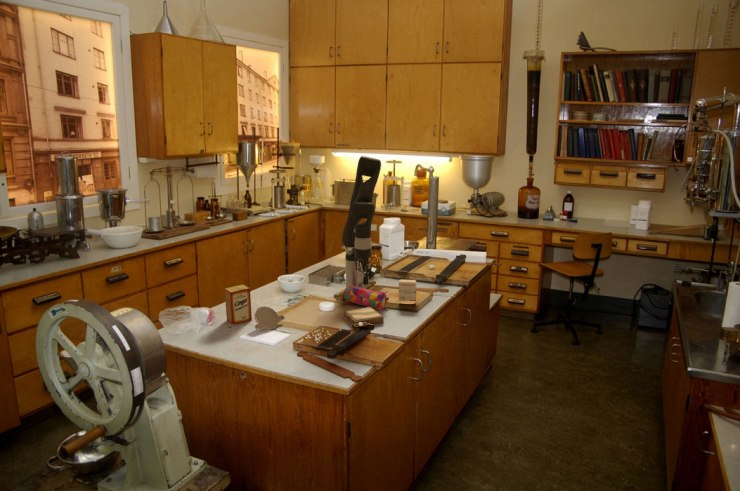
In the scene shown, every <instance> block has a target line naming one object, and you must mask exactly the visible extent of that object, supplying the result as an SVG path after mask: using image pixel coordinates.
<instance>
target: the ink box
mask: <svg viewBox="0 0 740 491" xmlns="http://www.w3.org/2000/svg"><path fill="white" fill-rule="evenodd" d="M399 301H416V302H417V280H416V279H399V280H398V302H399Z"/></svg>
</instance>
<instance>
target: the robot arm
mask: <svg viewBox="0 0 740 491" xmlns="http://www.w3.org/2000/svg"><path fill="white" fill-rule="evenodd" d="M381 169H382V161H381V160H380V159H379V158H376V157H375V158H374V157H372V156H365V155H361V156H360V157H359V159H358V162H357V166H356V173H355V180H354V186H353V191H352V195H351V198H350V203H349V208H348V213H347V218H346V220H345V221H346V222H345V225H344V228H343V229H342V230H343V231H342V235H341V243H342V245H343V247H345V248H352V249H350V251H348V252H346V253H345V256H344V258H345V259H344V260H345V290H346V289H347V288H348V287H349V286H352V285H354V286H357V287H358V270H360V269H361V271H362V272H363V284H364V285H368V277H371V276H372V270H373V269H372V267H373V263H372V264H370V261H369V260H370V258H371V257H372V222H373V219H374V217H375V216H374V215H375V213H376V212H375V211H376V208H375V207H376V206H375V205H374V204H373V200H374V192H375V188H376V185H377V183H378V180H379V176H380V173H381ZM363 176H364V177H368V179H366V180H365V181H364V179H363ZM363 219H365V221H364V222H361V220H363ZM363 269H365V270H363Z"/></svg>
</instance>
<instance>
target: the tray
mask: <svg viewBox="0 0 740 491" xmlns="http://www.w3.org/2000/svg"><path fill="white" fill-rule="evenodd" d="M342 312H343V313H342V314H343V318H344V319H345V320H346V321H347V323H349V324H350V325H352V324H354V323H359V322H367V323H370V324H373V325H372V326H374V325H380V324H384V322H385V319H384V318H385V317H384V316H383V315H382V314H380V313H379V311H378V310H376V309H374V308H372V307H366V306H365V307H362V308H361V307H360V308H355V309H350V310H349V309H348V310H344V311H342ZM352 326H353V325H352Z"/></svg>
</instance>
